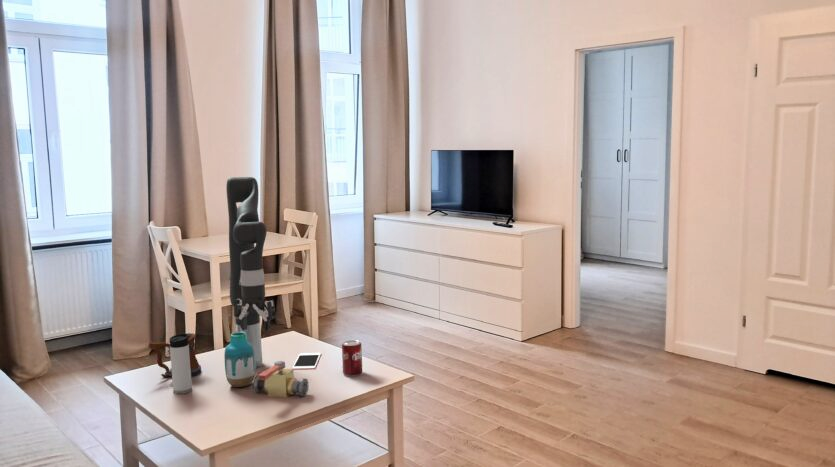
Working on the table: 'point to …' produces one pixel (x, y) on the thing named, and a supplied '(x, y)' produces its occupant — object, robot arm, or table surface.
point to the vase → (239, 360)
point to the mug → (193, 361)
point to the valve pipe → (281, 384)
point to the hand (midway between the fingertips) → (255, 330)
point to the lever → (272, 370)
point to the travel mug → (180, 363)
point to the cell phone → (306, 361)
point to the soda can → (352, 358)
